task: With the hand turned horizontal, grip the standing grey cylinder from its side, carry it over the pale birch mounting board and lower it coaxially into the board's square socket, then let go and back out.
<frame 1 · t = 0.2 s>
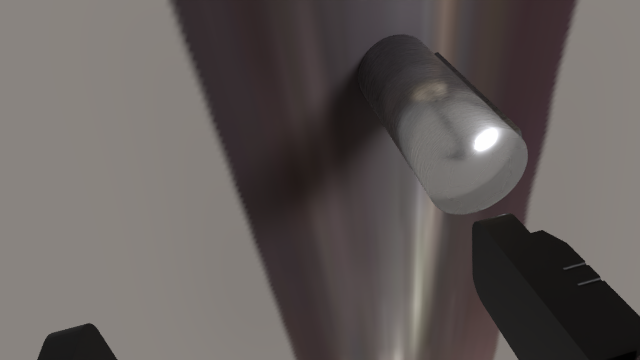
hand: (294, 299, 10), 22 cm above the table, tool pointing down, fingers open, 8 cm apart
grey cylinder: (394, 71, 33), on the table
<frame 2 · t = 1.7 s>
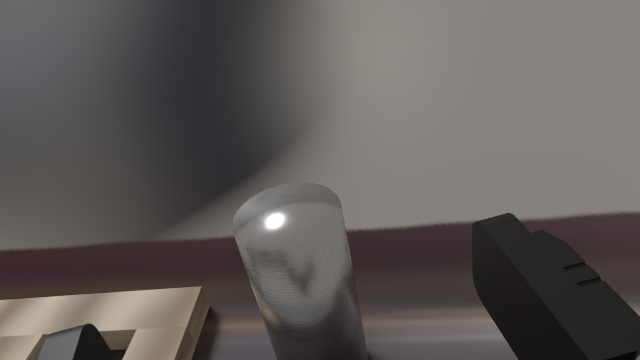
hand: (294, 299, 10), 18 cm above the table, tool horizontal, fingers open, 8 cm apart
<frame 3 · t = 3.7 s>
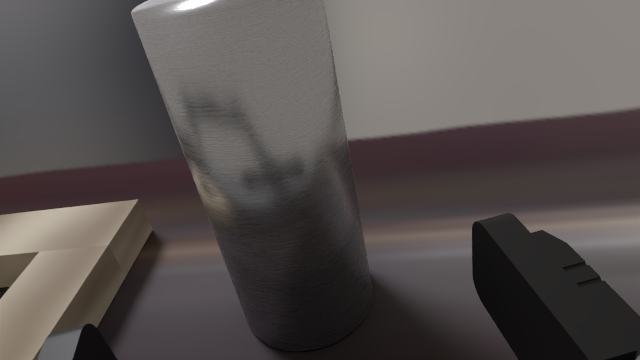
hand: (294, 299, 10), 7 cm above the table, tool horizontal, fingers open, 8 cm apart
grey cylinder: (308, 297, 20), on the table
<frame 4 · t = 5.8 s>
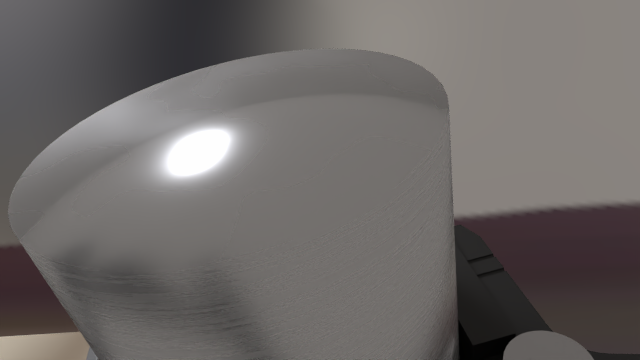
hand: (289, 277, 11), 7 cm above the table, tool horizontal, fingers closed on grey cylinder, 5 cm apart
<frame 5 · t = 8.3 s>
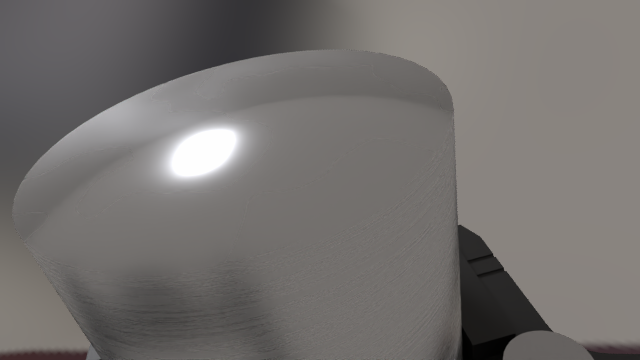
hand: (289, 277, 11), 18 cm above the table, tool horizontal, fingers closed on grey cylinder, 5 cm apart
when the fingers open (8 cm above the table, at t = 11.0 s): grey cylinder drops 1 cm, resting in mounting board.
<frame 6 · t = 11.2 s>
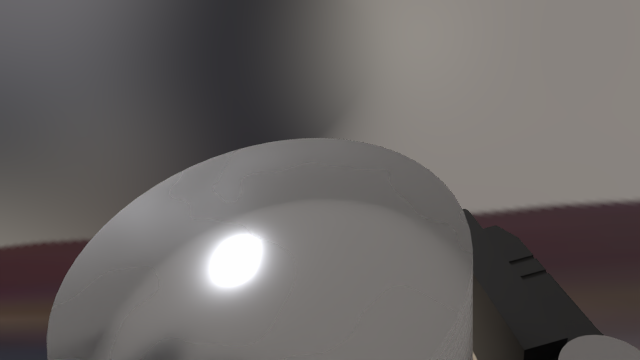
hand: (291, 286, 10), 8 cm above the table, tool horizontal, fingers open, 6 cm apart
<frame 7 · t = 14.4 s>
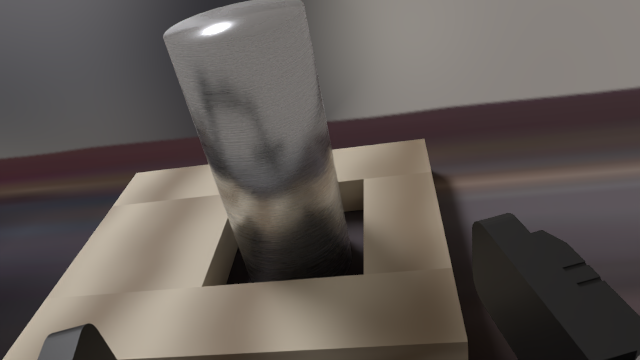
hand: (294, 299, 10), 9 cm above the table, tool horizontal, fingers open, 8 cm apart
grey cylinder: (300, 260, 24), resting in mounting board
mounting board: (299, 258, 24), on the table
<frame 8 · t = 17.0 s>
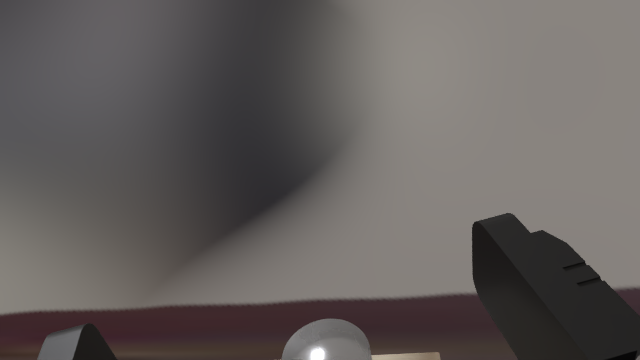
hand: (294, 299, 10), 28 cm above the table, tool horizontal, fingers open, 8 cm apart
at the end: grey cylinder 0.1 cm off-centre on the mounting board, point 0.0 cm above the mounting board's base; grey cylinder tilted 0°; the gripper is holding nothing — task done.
